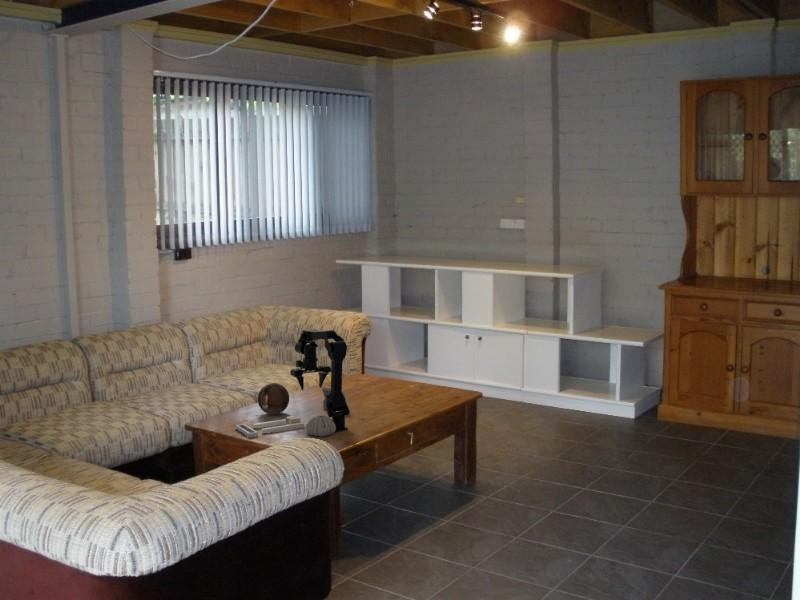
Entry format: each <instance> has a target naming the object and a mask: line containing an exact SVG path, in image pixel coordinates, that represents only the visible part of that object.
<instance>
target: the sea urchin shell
mask: <svg viewBox="0 0 800 600" xmlns="http://www.w3.org/2000/svg"><path fill="white" fill-rule="evenodd" d="M335 425H336V424H335V423H334V422H333V420H332V417H329V416H328V415H316V416H315V417H314V416H313V417H312V418H311V419H310V420H309V421H308V422H307V424H306V426H305V429H306V430H305V431H306V432H307V433H308V435H310V436H314V437H320V438H321V437H328V436H331V435H333V434H335V432H336V431H335V430H336V426H335Z"/></svg>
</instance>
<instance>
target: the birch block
mask: <svg viewBox="0 0 800 600" xmlns="http://www.w3.org/2000/svg"><path fill="white" fill-rule="evenodd" d="M285 419H286V424H285V425H289V424H296V423H301V417H299V416H297V415H291V416H286V417H285Z"/></svg>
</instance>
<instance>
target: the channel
mask: <svg viewBox="0 0 800 600" xmlns="http://www.w3.org/2000/svg"><path fill="white" fill-rule="evenodd" d="M252 425H253V429H254V428H259V429H261V434H262V433H267V434H272V433H271V432H273V433H278V432H284V431H291V430H297V429H303V428H305V422H300V423H296V424H289V425H286V418H284V419H277V420H271V421H265V422H257V423H253V424H252ZM271 426H272V427H271ZM262 427H265V428H262Z"/></svg>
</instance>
